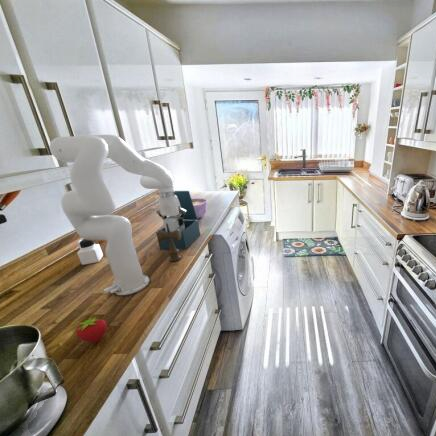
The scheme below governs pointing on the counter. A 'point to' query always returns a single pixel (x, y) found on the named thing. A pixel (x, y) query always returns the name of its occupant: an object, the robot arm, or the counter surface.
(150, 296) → the counter surface
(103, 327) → the strawberry
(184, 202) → the dark teal box lid
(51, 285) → the counter surface
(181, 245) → the teal rectangular box
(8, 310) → the counter surface
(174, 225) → the white packaging box
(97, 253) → the medicine bottle
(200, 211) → the bowl of food
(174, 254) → the kendama
